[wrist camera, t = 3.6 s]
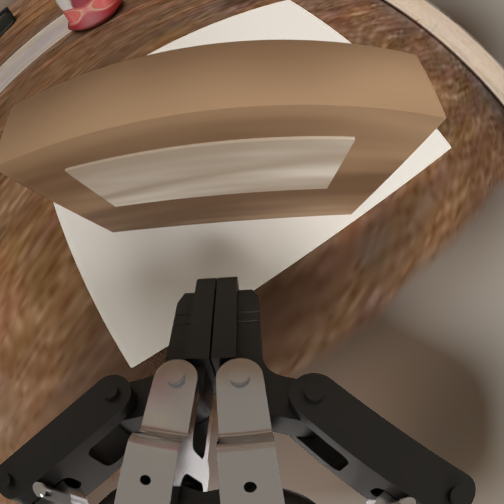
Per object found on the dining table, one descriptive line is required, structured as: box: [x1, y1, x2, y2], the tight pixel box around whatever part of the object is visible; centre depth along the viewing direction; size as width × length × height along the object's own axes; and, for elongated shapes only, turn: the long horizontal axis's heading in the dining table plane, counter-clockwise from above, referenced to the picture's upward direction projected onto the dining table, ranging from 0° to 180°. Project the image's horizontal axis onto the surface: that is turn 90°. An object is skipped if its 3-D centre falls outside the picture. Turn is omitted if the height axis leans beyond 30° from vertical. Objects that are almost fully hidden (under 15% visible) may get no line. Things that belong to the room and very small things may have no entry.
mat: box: [53, 0, 451, 368], centre depth 18 cm, size 20×26×1 cm
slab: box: [0, 40, 446, 232], centre depth 11 cm, size 3×14×10 cm, turn 94°
